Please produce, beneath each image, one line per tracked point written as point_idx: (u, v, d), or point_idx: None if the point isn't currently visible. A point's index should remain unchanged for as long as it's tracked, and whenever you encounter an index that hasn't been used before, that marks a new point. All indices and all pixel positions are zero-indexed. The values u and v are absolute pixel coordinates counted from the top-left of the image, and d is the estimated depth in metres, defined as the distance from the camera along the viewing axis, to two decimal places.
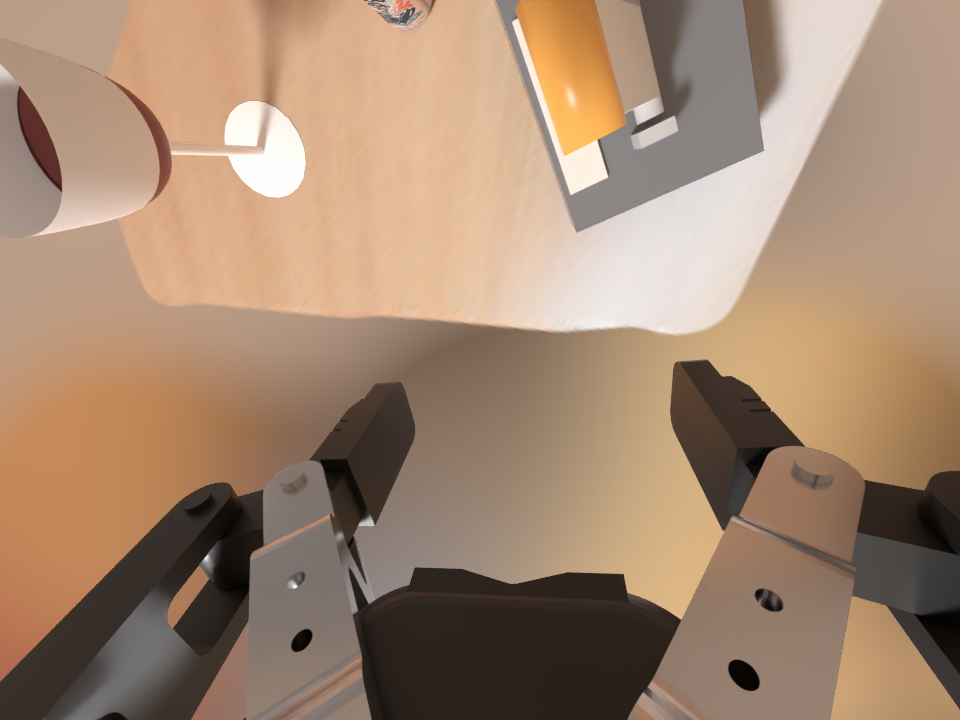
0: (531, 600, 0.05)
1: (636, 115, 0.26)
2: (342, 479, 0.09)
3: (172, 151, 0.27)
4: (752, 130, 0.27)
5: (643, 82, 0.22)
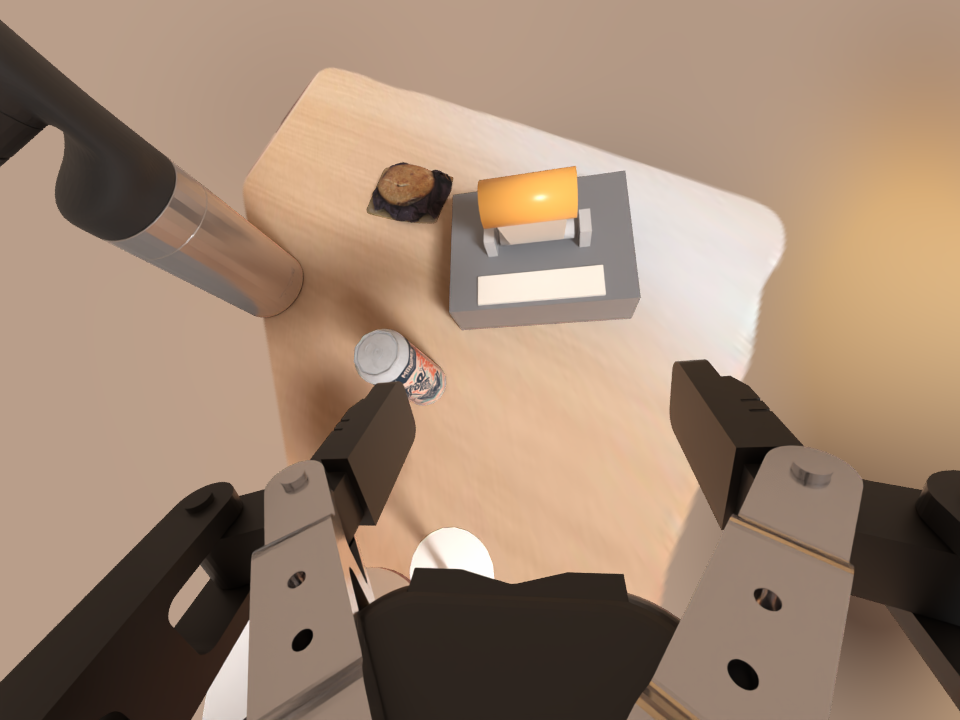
0: (531, 600, 0.05)
1: (568, 235, 0.35)
2: (343, 479, 0.09)
3: None
4: (608, 177, 0.38)
5: None
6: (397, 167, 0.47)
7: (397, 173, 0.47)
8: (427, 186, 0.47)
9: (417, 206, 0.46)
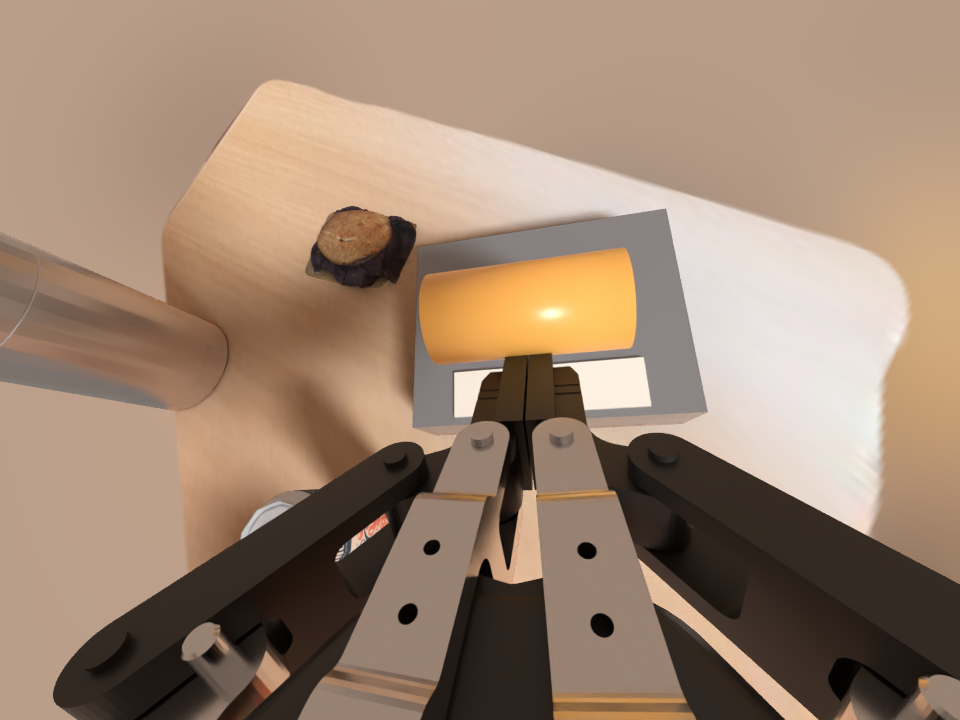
0: (531, 600, 0.05)
1: None
2: (516, 441, 0.09)
3: None
4: (641, 218, 0.26)
5: None
6: (341, 215, 0.35)
7: (340, 224, 0.34)
8: (382, 238, 0.35)
9: (368, 268, 0.34)
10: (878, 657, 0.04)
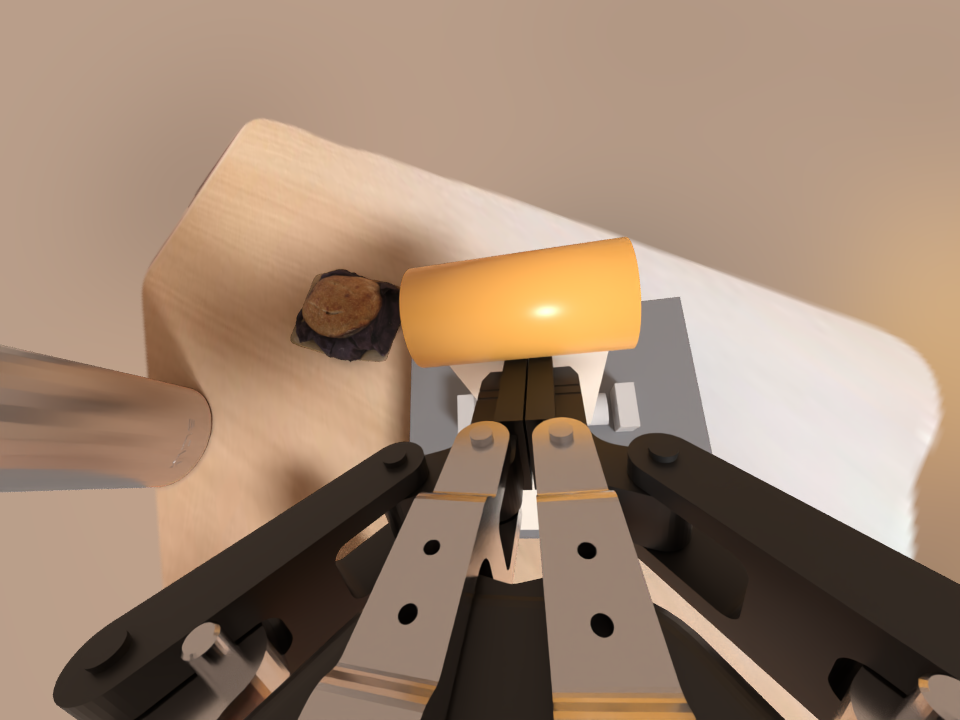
0: (531, 599, 0.05)
1: (597, 418, 0.21)
2: (516, 441, 0.09)
3: None
4: (653, 307, 0.24)
5: None
6: (326, 284, 0.33)
7: (326, 295, 0.32)
8: (371, 309, 0.33)
9: (356, 342, 0.32)
10: (878, 657, 0.04)
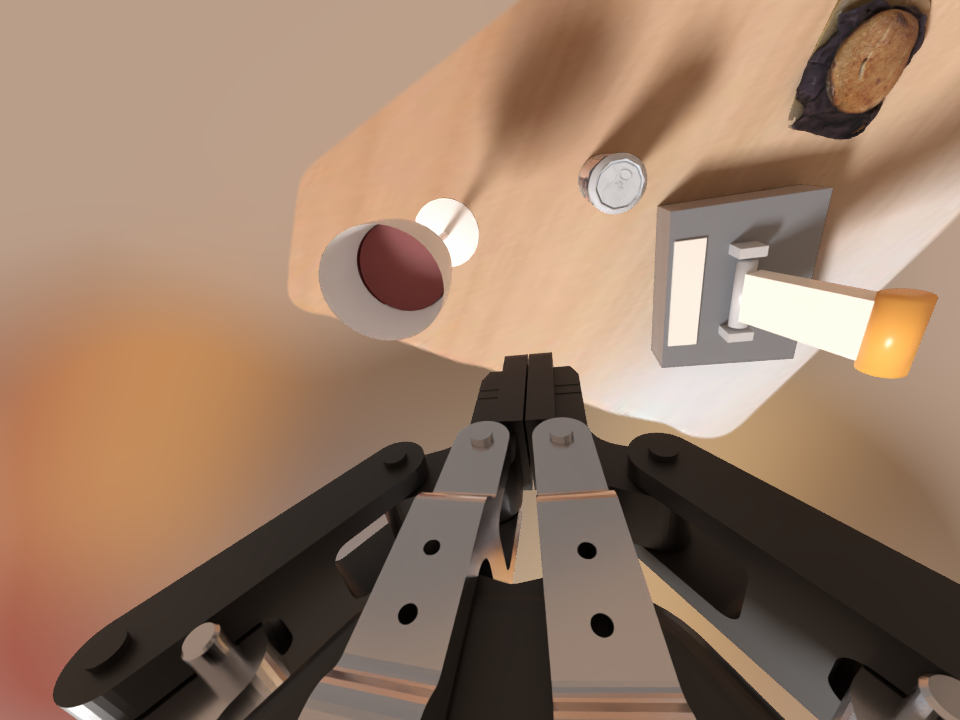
0: (530, 599, 0.05)
1: (738, 323, 0.40)
2: (516, 441, 0.09)
3: None
4: (791, 345, 0.42)
5: None
6: (904, 48, 0.32)
7: (888, 54, 0.32)
8: (850, 107, 0.35)
9: (816, 100, 0.35)
10: (878, 657, 0.04)
